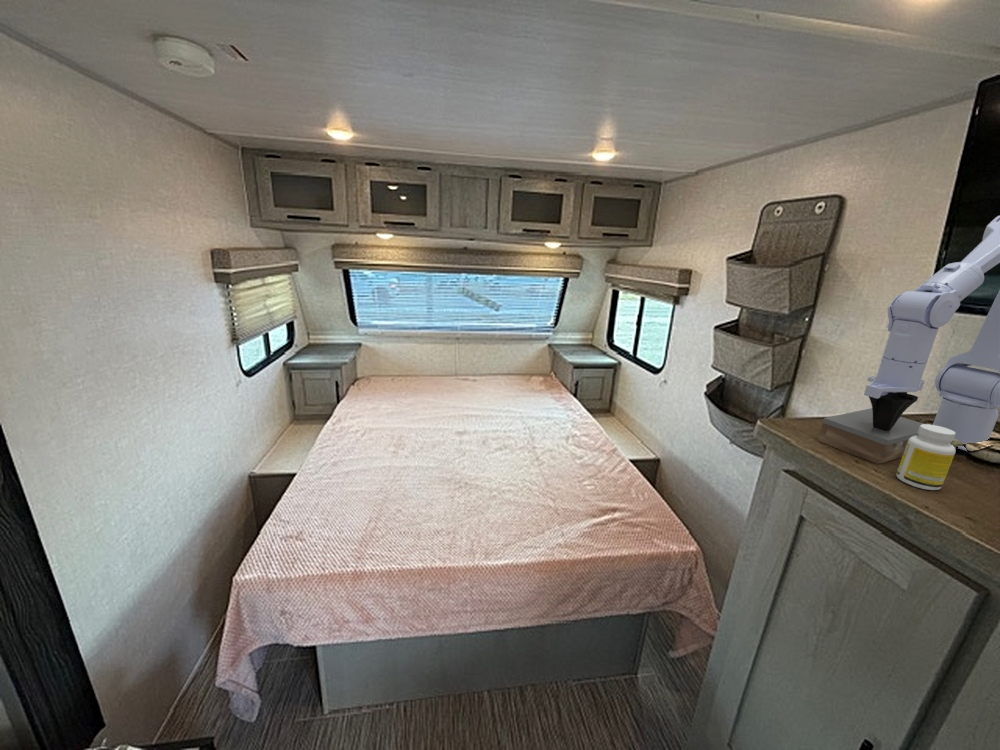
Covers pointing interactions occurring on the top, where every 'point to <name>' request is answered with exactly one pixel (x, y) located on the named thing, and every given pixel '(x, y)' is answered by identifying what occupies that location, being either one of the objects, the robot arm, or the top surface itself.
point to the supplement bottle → (927, 457)
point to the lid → (863, 427)
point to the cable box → (861, 445)
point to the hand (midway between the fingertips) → (881, 428)
